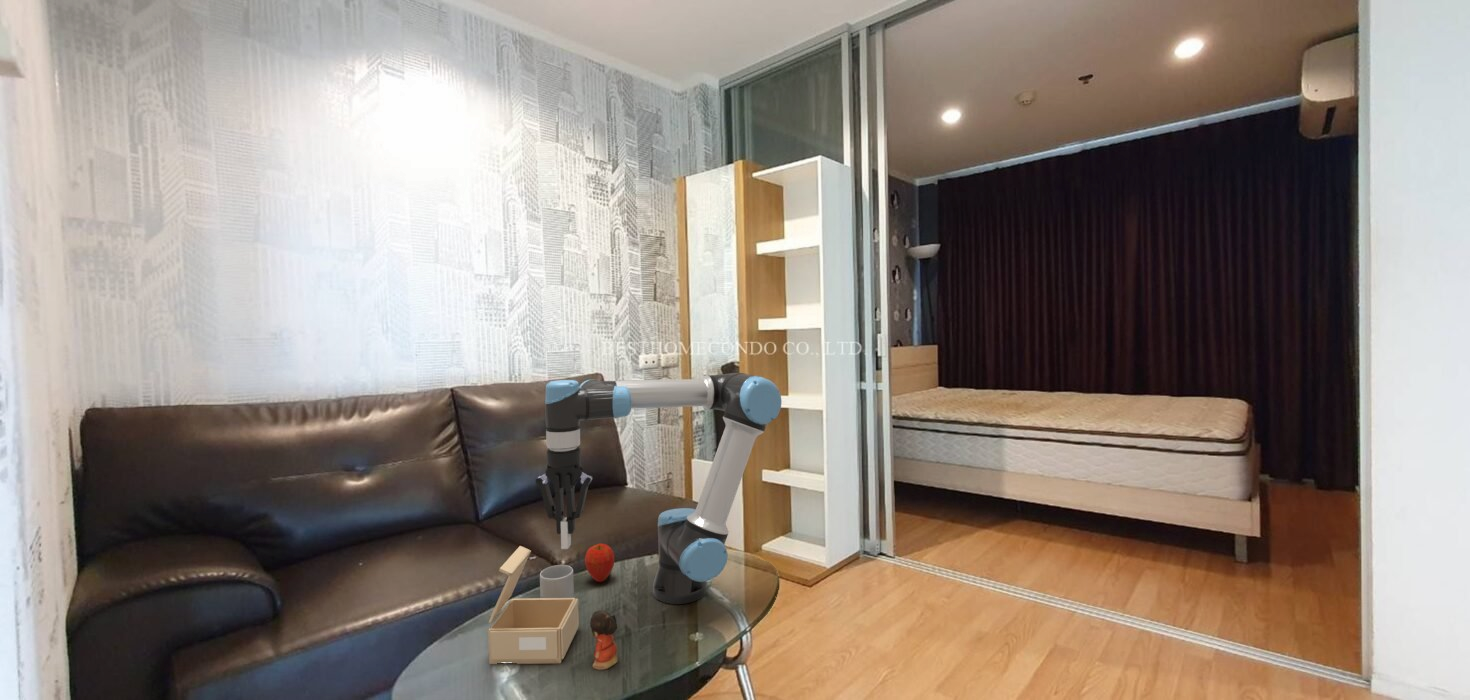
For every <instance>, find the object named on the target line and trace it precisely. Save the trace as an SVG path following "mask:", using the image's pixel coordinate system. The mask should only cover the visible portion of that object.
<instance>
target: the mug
mask: <svg viewBox="0 0 1470 700" xmlns="http://www.w3.org/2000/svg"><path fill="white" fill-rule="evenodd" d="M574 581H575V580H574V569H573V567H571V566H570V565H567V564H557V565H552V566H548V567H546V568H544V569H543V570H541V571H540V573H539V591H540V592H539V594H540V595H539V596H540V597H539V598H575V589H574V588H575V584H574V583H575V582H574Z"/></svg>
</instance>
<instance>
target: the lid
mask: <svg viewBox="0 0 1470 700" xmlns="http://www.w3.org/2000/svg"><path fill="white" fill-rule="evenodd" d="M531 553H532V550H530V549H528V548H526V547H525V546H522V545H519V546H518V548H516V550H515V551H514V552H513V553H512V554H511V555H510V556H509V557H508V559H507V560H506V561H505V562H504V563H502V565H501V566H500V568H499V570H498V571H499V572H500V573H503V574H505V575H507V576H508V577H507V579H506V581H505V584H504V585H503V588H502V590H501V593H500V594H499V597H498V599H497V602H496V604H495V606H494V608H493V611H492V613H491V616H489V617H490V618H489V619H488V623H489V624H491V623H492V622H493V620H494V619H495V618H496V616H497V615H498V614H499V613H500V611H501V609H503V607H504V606H505V605H506V603H507V602H508V600H509V599H510V598H511V597H512V595H513V593H514V591H515V588H516V586H517V584H518V581H519V579H520V577H521V575H522V572H523V570H524V569H525V565H526V564H527V561H528V559H529V557H530V554H531Z"/></svg>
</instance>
